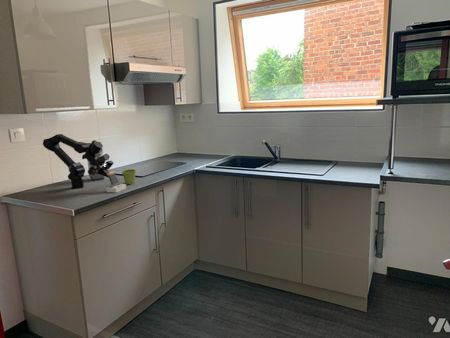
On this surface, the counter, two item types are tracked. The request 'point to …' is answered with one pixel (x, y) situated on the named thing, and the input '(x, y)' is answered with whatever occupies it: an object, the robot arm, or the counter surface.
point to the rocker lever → (113, 178)
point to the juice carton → (95, 175)
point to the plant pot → (129, 176)
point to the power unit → (116, 187)
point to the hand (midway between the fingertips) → (110, 177)
